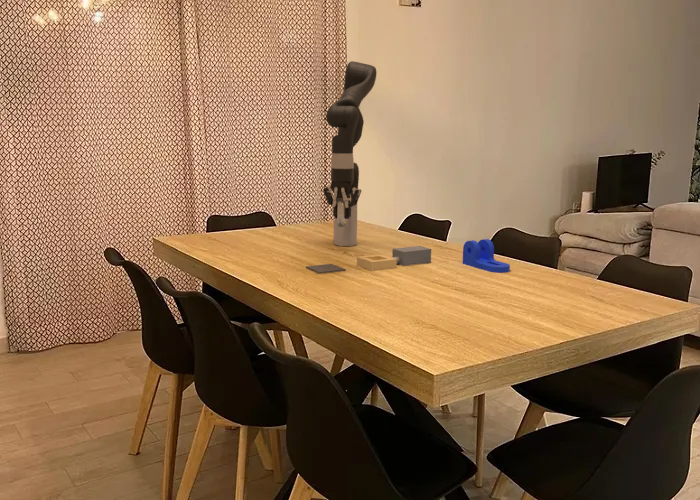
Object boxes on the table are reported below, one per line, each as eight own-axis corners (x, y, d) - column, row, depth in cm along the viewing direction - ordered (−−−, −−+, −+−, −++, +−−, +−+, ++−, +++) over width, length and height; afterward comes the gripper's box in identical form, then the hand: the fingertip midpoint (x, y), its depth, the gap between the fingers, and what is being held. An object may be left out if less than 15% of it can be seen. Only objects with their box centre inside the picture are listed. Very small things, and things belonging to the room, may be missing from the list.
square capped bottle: (339, 225, 240) (340, 196, 238) (348, 225, 238) (349, 197, 236) (335, 226, 237) (335, 197, 235) (344, 227, 235) (344, 198, 233)
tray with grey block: (371, 270, 238) (372, 256, 237) (356, 265, 246) (356, 251, 246) (433, 263, 251) (433, 249, 250) (416, 258, 260) (417, 245, 259)
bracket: (462, 264, 252) (463, 239, 250) (480, 262, 256) (481, 237, 254) (495, 274, 236) (497, 247, 234) (514, 271, 240) (516, 245, 238)
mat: (305, 268, 241) (305, 266, 241) (331, 265, 246) (331, 263, 246) (319, 273, 232) (319, 272, 232) (345, 270, 237) (345, 269, 237)
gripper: (366, 167, 234) (365, 218, 237) (329, 165, 240) (329, 215, 243) (356, 168, 227) (355, 221, 230) (318, 166, 234) (318, 218, 237)
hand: (341, 218), depth 237 cm, fingers closed on square capped bottle, 3 cm apart
